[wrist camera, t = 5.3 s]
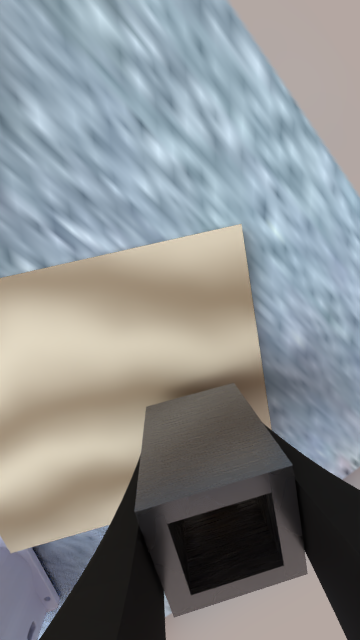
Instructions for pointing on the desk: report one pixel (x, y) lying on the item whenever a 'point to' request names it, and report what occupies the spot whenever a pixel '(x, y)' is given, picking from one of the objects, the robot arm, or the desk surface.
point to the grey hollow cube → (216, 500)
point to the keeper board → (112, 371)
